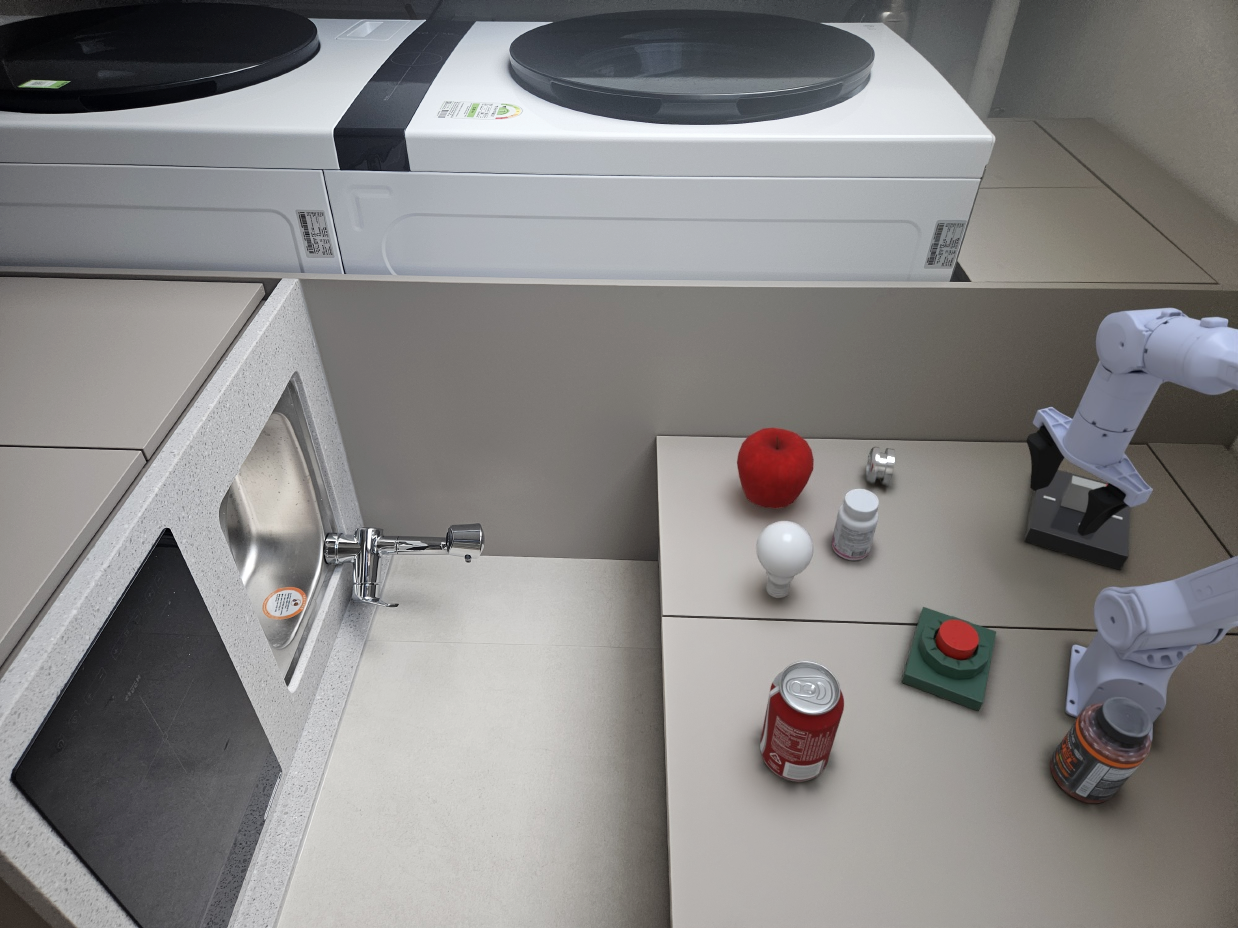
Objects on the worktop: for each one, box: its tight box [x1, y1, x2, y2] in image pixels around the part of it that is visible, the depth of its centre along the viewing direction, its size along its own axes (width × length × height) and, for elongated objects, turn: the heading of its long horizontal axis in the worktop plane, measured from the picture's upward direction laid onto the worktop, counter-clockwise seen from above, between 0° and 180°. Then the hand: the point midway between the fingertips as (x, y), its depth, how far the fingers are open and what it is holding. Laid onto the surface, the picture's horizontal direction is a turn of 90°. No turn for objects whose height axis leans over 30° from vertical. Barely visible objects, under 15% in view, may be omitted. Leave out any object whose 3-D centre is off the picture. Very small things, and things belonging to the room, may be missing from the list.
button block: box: [901, 606, 997, 712], centre depth 88 cm, size 10×8×4 cm
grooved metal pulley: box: [865, 446, 896, 486], centre depth 109 cm, size 5×3×5 cm, turn 166°
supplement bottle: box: [1049, 697, 1152, 804], centre depth 75 cm, size 6×6×11 cm
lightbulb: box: [755, 520, 814, 599], centre depth 93 cm, size 6×6×11 cm
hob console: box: [1024, 469, 1131, 571], centre depth 103 cm, size 13×11×3 cm
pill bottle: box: [831, 488, 880, 561], centre depth 99 cm, size 5×5×8 cm
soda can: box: [759, 660, 845, 783], centre depth 77 cm, size 7×7×12 cm
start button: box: [936, 620, 979, 660], centre depth 86 cm, size 4×4×2 cm
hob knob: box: [1061, 476, 1107, 512], centre depth 101 cm, size 5×2×4 cm, turn 63°
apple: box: [736, 427, 815, 509], centre depth 105 cm, size 10×10×11 cm
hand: (1062, 508), depth 92 cm, fingers open, 7 cm apart
